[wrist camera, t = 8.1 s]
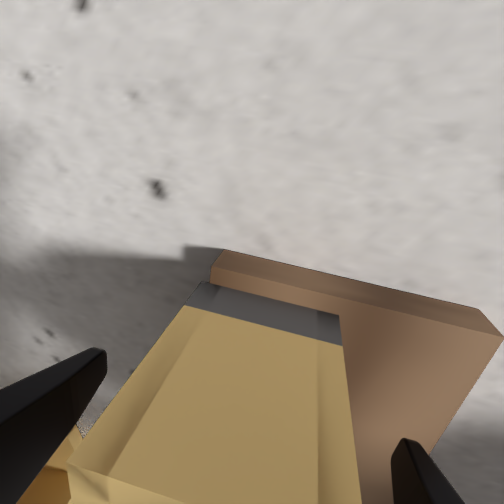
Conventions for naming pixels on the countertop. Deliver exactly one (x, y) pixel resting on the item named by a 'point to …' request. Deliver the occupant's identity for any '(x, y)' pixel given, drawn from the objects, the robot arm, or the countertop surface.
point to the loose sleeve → (228, 412)
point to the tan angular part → (53, 476)
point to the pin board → (382, 355)
